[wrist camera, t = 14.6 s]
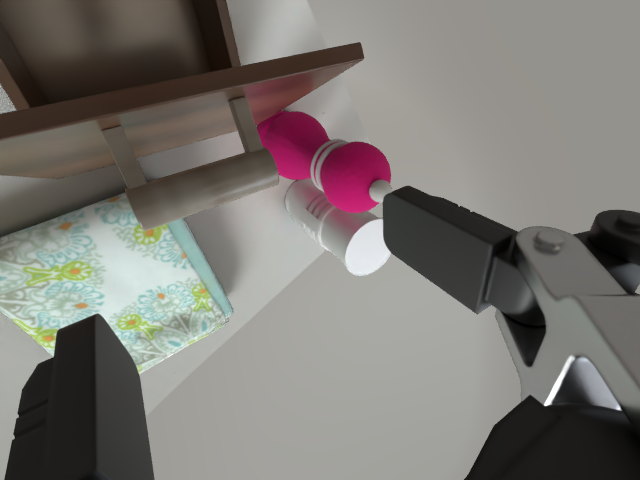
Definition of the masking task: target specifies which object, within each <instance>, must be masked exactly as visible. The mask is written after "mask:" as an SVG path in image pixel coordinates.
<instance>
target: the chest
mask: <svg viewBox="0 0 640 480" xmlns="http://www.w3.org/2000/svg"><path fill="white" fill-rule="evenodd" d="M238 66H241V65H240V60H239V56H238V52H237V47H236V43H235V38H234V34H233V30H232V25H231V21H230V16H229V12H228V8H227V3H226V0H0V84H1V85H2V87H3V89H4V90H5V92H6V93H7V95H8V97H9V98H10V100H11V101H12V103H13V105H14V106H15V108H16V110H23V109H28V108H33V107H38V106H43V105H48V104H53V103H58V102H63V101H68V100H73V99H78V98H83V97H88V96H93V95H98V94H103V93H108V92H113V91H118V90H123V89H128V88H133V87H138V86H143V85H148V84H153V83H158V82H163V81H168V80H173V79H178V78H183V77H188V76H193V75H198V74H203V73H208V72H213V71H218V70H223V69H228V68H233V67H238Z"/></svg>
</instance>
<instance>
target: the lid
mask: <svg viewBox="0 0 640 480" xmlns="http://www.w3.org/2000/svg"><path fill="white" fill-rule="evenodd" d="M363 59H364V55H363V50H362V46H361V43H360V42H358V43H353V44H348V45H343V46H338V47H333V48H328V49H323V50H318V51H313V52H308V53H303V54H298V55H293V56H288V57H283V58H278V59H273V60H268V61H263V62H258V63H253V64H248V65H243V66H238V67H233V68H228V69H223V70H218V71H213V72H208V73H203V74H198V75H193V76H188V77H183V78H178V79H173V80H168V81H163V82H158V83H153V84H148V85H143V86H138V87H133V88H128V89H123V90H118V91H113V92H108V93H103V94H98V95H93V96H88V97H83V98H78V99H73V100H68V101H63V102H58V103H53V104H48V105H43V106H38V107H33V108H28V109H23V110H17V111H12V112H7V113H2V114H0V175H5V176H19V177H33V178H47V179H62V178H65V177H69V176H73V175H76V174H80V173H84V172H87V171H91V170H95V169H98V168H102V167H106V166H109V165H113V164H117V166H118V168H119V170H120V172H121V175H122V177H123V179H124V181H125V183H126V185H127V187H128V188H126V189H125V194H126V197H127V199H128V202H129V204H130V206H131V209H132V211H133V213H134V215H135V217H136V219H137V221H138V223H139V225H140V226H141V228H142V229H143V230H144V231H148V230H150V229H153V228H156V227H159V226H162V225H165V224H167V223H170V222H173V221H176V220H179V219H182V218H184V217H187V216H190V215H193V214H196V213H199V212H202V211H204V210H207V209H210V208H213V207H216V206H219V205H221V204H224V203H227V202H230V201H233V200H236V199H238V198H241V197H244V196H247V195H250V194H253V193H255V192H258V191H261V190H264V189H267V188H270V187H273V186H275V185H277V184H278V182H279V174H278V169H277V165H276V162H275V160H274V158H273V156H272V154H271V153H270V151H269V150H268V149H267V148H265V147H263V146H262V143H261V140H260V137H259V134H258V131H257V128H256V125H257V124H259V123H261V122H262V121H264V120H266V119H267V118H269V117H270V116H272V115H274V114H275V113H277V112H279V111H280V110H282V109H284V108H285V107H287V106H288V105H290V104H292V103H293V102H295V101H297V100H298V99H300V98H302V97H303V96H305V95H306V94H308V93H310V92H311V91H313V90H315V89H316V88H318V87H320V86H321V85H323V84H324V83H326V82H328V81H329V80H331V79H333V78H334V77H336V76H338V75H339V74H341V73H342V72H344V71H345V70H347V69H349V68H350V67H352V66H354V65H355V64H357V63H359V62H360V61H362V60H363ZM237 130H238V132H239V135H240V138H241V141H242V144H243V147H244V149H245V152H246V153H242V154H239V155H236V156H232V157H229V158H226V159H222V160H219V161H216V162H212V163H209V164H206V165H202V166H199V167H196V168H193V169H189V170H186V171H183V172H179V173H176V174H173V175H169V176H166V177H163V178H159V179H156V180H153V181H149V182H147V181H146V179H145V177H144V175H143V172H142V170H141V168H140V166H139V163H138V161H137V159H136V158H139V157H142V156H146V155H150V154H153V153H157V152H161V151H164V150H168V149H172V148H175V147H179V146H183V145H186V144H190V143H194V142H197V141H201V140H205V139H208V138H212V137H216V136H219V135H223V134H226V133H230V132H234V131H237Z"/></svg>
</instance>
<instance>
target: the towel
mask: <svg viewBox="0 0 640 480" xmlns="http://www.w3.org/2000/svg"><path fill="white" fill-rule="evenodd" d="M0 312H2V313H3V314H4V315H5V316H7V317H9V318H11V319H12V320H13V321H14V323H15V324H17V325H18V326H19V327H20V328H21V329H22V330H24V331H25V332H26V333H27V334H28V335H30V336H31V337H32V338H33V339H34V340H35V341H36V342H37V343H38V344H40V345H41V346H42V347H43V348H44V349H45V350H46V351H47V352H49V353H50V354H51V355H52V356H54V350H55V342H56V334H57V331H58V330H59V329H61V328H63V327H65V326H68V325H70V324H73V323H75V322H77V321H80V320H82V319H85V318H87V317H89V316H92V315H94V314H97V313H98V314H100V315H101V316H102V317H103V318H104V319H105V320H106V322H107V323H108V324H109V326H110V327H111V329H112V330H113V331H114V333H115V334H116V336H117V337H118V338H119V340H120V341H121V342H122V344H123V345H124V347H125V348H126V349H127V351H128V352H129V354H130V355H131V357H132V359H133V360H134V363H135V365H136V367H137V370H138V373H139V374H140V373H142V372H144V371H145V370H147V369H149V368H150V367H152V366H154V365H156V364H157V363H159V362H161V361H163V360H164V359H166V358H168V357H170V356H172V355H173V354H175V353H177V352H178V351H180V350H182V349H183V348H185V347H187V346H189V345H191V344H193V343H195V342H196V341H198V340H200V339H202V338H204V337H206V336H207V335H209V334H211V333H213V332H214V331H216V330H218V329H220V328H221V327H223V326H225V325H226V324H227V323H228V322H229V319H228V317H229V316H231V315H232V314H233V308H232V306H231V304H230V302H229V300H228V298H227V296H226V294H225V292H224V291H223V289H222V287H221V286H220V284H219V282H218V280H217V278H216V277H215V275H214V273H213V271H212V269H211V267H210V265H209V263H208V261H207V259H206V257H205V255H204V254H203V252H202V250H201V249H200V247H199V245H198V243H197V242H196V240H195V238H194V236H193V234H192V232H191V230H190V229H189V226H188V224H187V223H186V221H185V220H184V218H182V219H179V220H176V221H173V222H170V223H167V224H165V225H162V226H159V227H156V228H153V229H150V230H148V231H144V230H143V229H142V228H141V226H140V225H139V223H138V221H137V219H136V217H135V215H134V213H133V211H132V209H131V206H130V204H129V202H128V199H127V197H126V194H125V193H122V194H120V195H117V196H114V197H111V198H108V199H106V200H103V201H100V202H97V203H95V204H92V205H89V206H86V207H83V208H81V209H78V210H75V211H73V212H70V213H67V214H64V215H61V216H59V217H57V218H54V219H51V220H48V221H46V222H43V223H40V224H37V225H34V226H31V227H28V228H26V229H23V230H20V231H17V232H14V233H11V234H9V235H5V236H3V237H0Z"/></svg>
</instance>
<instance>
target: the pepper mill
mask: <svg viewBox="0 0 640 480" xmlns="http://www.w3.org/2000/svg"><path fill="white" fill-rule="evenodd" d="M257 131H258V134H259V137H260V140H261V143H262V146H263V147H265V148H267V149H268V150H269V151H270V153H271V154H272V156H273V158H274V160H275V162H276V165H277V169H278V174H279V175H281V176H283V177H285V178H288V179H294V180H303V179H307V178H309V179H312V181H313V183H314V184H315V186H316V187H317V188H318V189H319V190H321V191H323V192H324V193H325V195H326V197H327V199H328V201H329V202H330V203H332V204H333V205H334V206H335V207H337V208H338V209H340V210H343V211H345V212H349V213H361V212H365V211H368V210H370V209H372V208H373V207H375V206H376V205H377V204H379V203H380V202H383V198H384V196H385V195H386V194H388V193H390V192H392V187H391V185H390V179H391V172H390V166H389V163H388V161H387V159H386V157H385V156H384V154H383V153H382V152H381V151H380V150H379V149H377V148H376V147H374V146H372V145H370V144H368V143H364V142H351V143H349V142H346V141H344V140H340V139H336V140H330V139H329V138H328V136H327V134H326V131H325V129H324V128H323V127H322V125H321V124H320V123H319V122H318V121H317V120H316V119H315V118H313V117H311V116H309V115H308V114H305V113H303V112H286V111H279V112H277V113H275V114H274V115H272V116H270V117H269V118H267V119H266V120H264V121H262V122H261V123H259V125H258V127H257Z"/></svg>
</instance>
